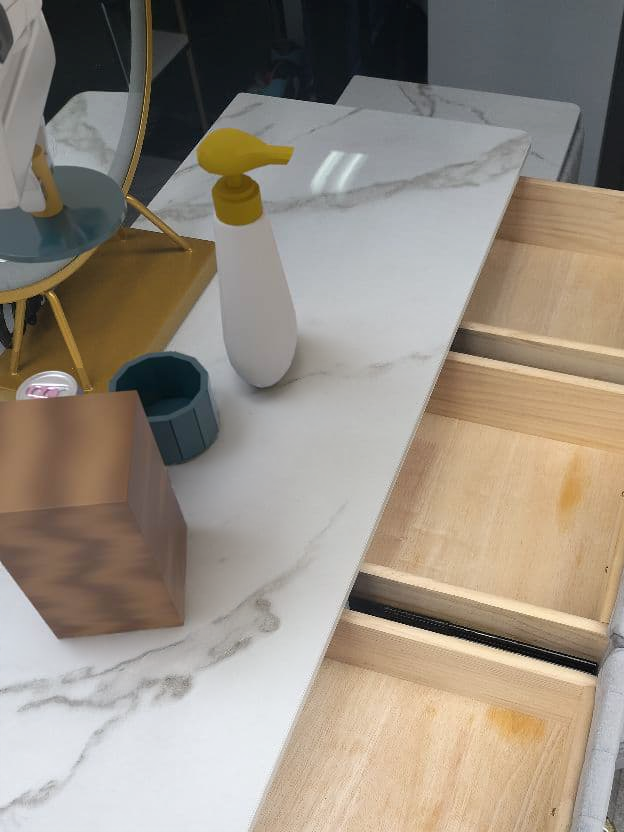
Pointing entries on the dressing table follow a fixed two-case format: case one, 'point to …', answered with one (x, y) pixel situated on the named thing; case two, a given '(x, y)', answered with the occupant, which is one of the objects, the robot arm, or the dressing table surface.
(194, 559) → the dressing table surface
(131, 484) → the stand
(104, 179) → the lid
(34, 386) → the beverage can
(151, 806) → the dressing table surface
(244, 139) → the soap bottle
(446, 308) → the dressing table surface
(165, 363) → the pot
